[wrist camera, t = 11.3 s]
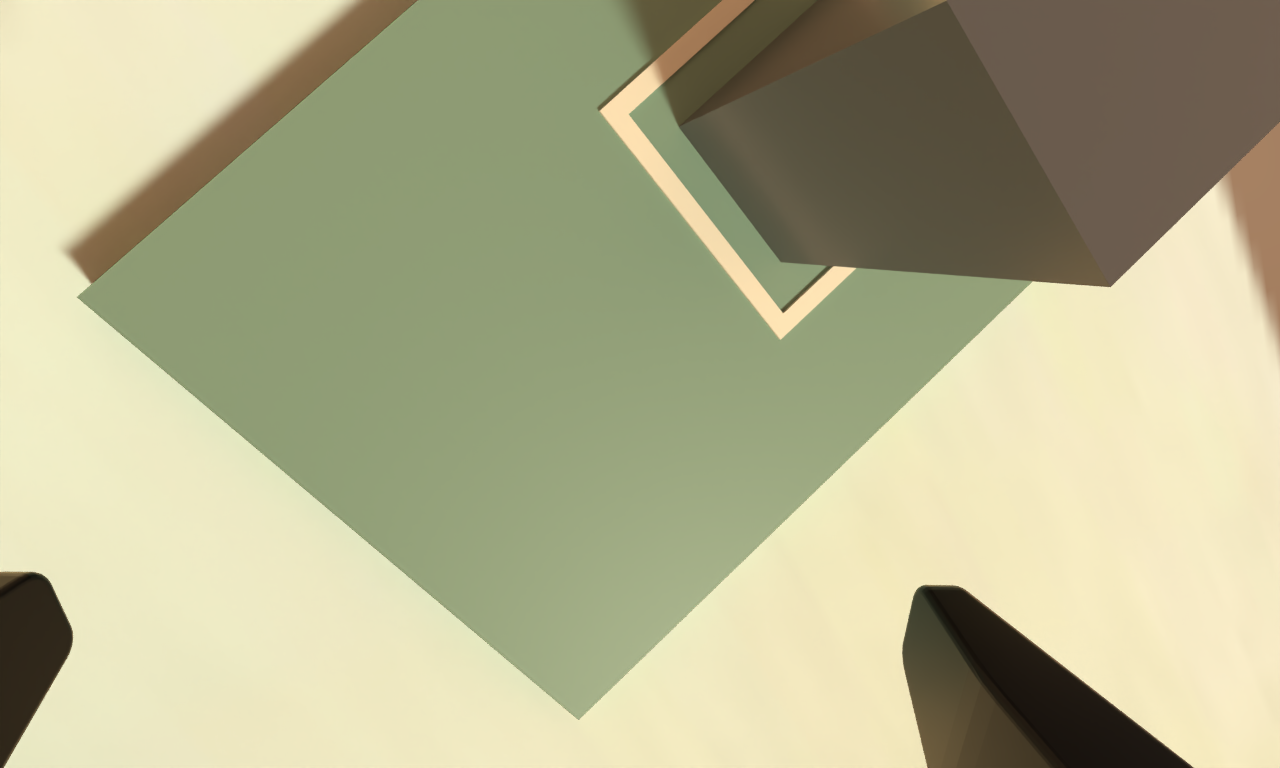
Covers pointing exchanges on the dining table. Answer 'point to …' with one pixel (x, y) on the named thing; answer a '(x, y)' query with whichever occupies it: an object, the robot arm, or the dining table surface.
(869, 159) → the plug block
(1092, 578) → the dining table surface
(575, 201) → the board
